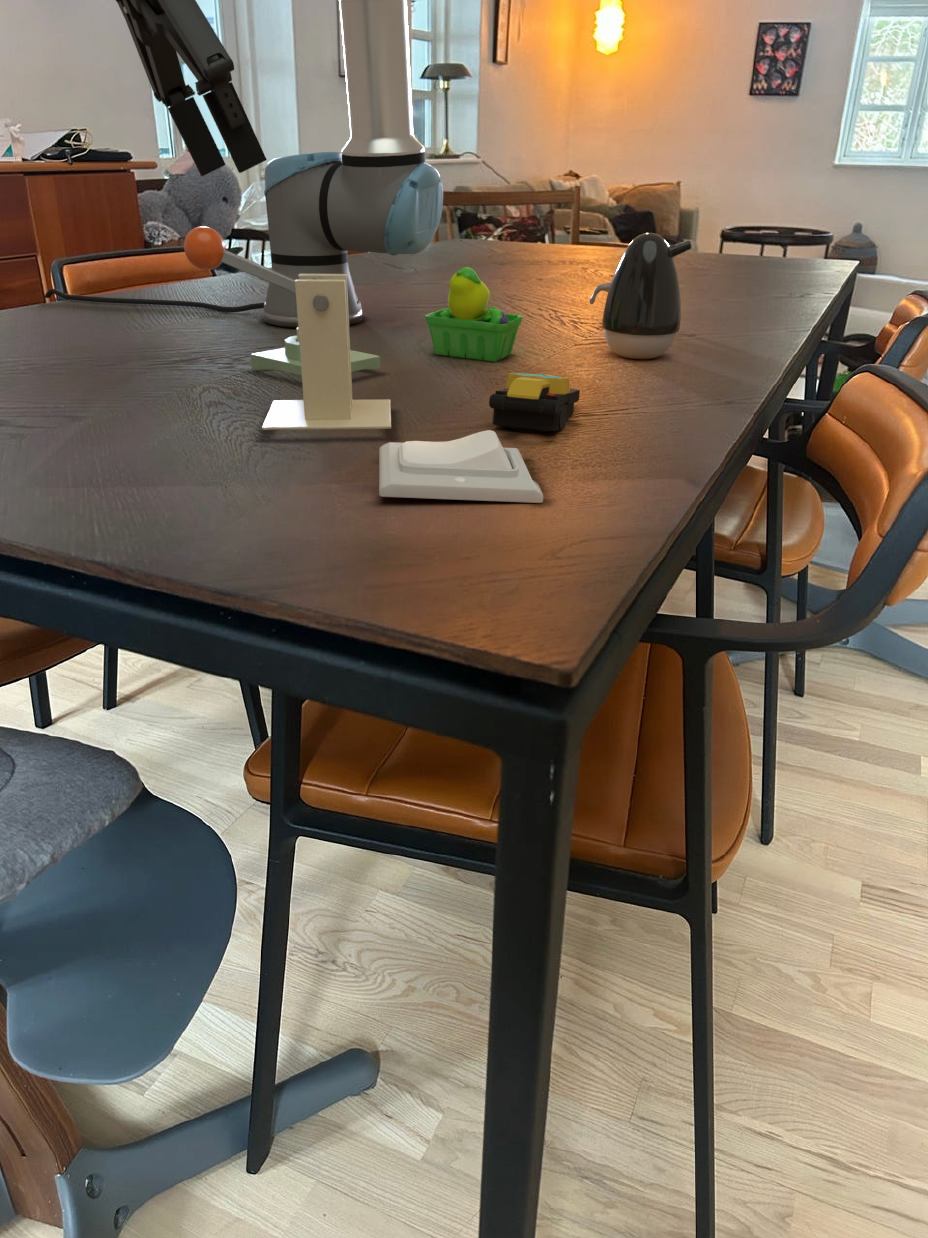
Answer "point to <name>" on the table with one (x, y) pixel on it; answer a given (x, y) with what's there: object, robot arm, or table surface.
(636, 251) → the pump dispenser
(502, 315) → the fruit basket
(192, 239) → the lever
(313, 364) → the bracket
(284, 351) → the button block
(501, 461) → the light switch
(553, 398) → the gadget
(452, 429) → the table surface
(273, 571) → the table surface
